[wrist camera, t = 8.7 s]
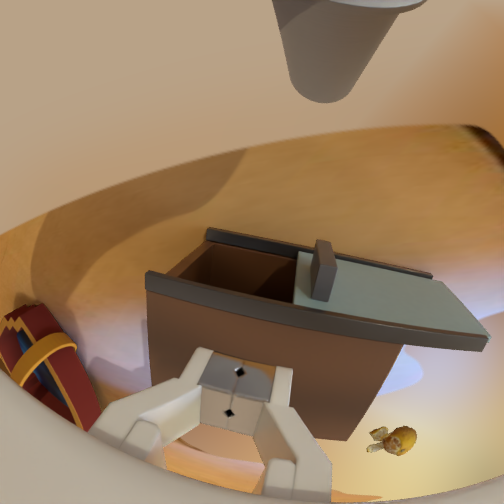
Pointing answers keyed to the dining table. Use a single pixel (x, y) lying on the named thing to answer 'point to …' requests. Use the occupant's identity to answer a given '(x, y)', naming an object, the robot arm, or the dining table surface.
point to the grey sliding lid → (378, 293)
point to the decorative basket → (47, 364)
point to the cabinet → (279, 327)
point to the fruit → (393, 440)
